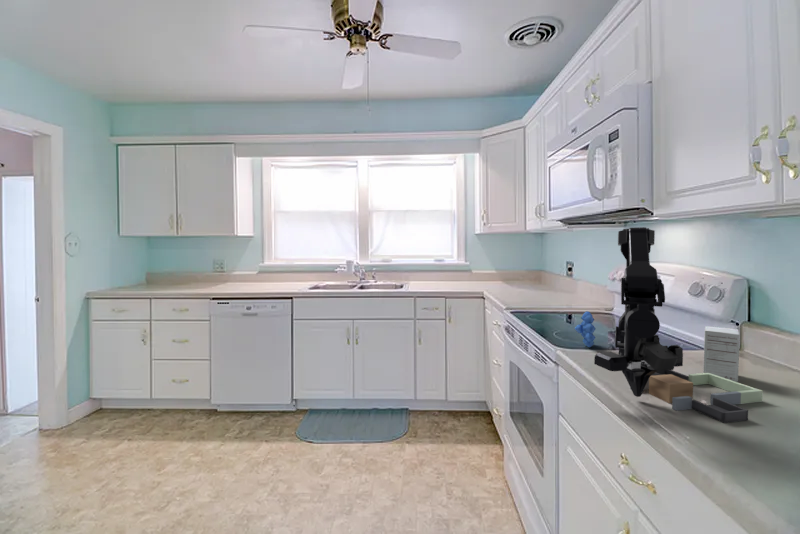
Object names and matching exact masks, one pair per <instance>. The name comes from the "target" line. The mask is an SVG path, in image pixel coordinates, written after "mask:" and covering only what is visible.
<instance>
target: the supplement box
mask: <svg viewBox="0 0 800 534" xmlns="http://www.w3.org/2000/svg"><path fill="white" fill-rule="evenodd" d="M740 335H741V334H740V329H737V328H728V327H718V326H709V325H708V326H707V325H706V326H705V327H704V338H703V339H704V341H703V370H702V371H703V372H702V373H711V374H714V375H717V376H720V377H723V378H726V379H729V380H732V381H735V382H738V383H739V367H740V366H739V364H740V363H739V362H740V341H741V340H740V339H741V338H740Z"/></svg>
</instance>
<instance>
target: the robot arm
mask: <svg viewBox="0 0 800 534" xmlns="http://www.w3.org/2000/svg"><path fill="white" fill-rule="evenodd" d="M655 231H656V230H654V229H650V228H649V227H648V228H647V227H645V226H644V227H640V226H639V227H628V228H623V229H622V230H619V231H618V234H617V246H618V247H619V246H620V250H619V251H620V252H621V254H622V255H623V256H622V257H624V259H625V262H626V263H625V265H626V266H625V267H626V268H625V269H624V277H621V278H620V279H621V281H620V301H621V302H620V304H621V305H624V312H623V313H622V315H621V316H620V318H619V319H618V323H617V324H618V326H615V330H614V331H615V332H614V333H615V335H614V347H615V349H616V348H617V349H618V353H616V352H614V351H613V352H612V351H601V352H597V353H595V355H594V361H593V362H594V365H596V366H598V367H600V368H602V369H605V370H607V371H609V372H622V374H623V375H624V377H625V379H626V381H627V384H628V385H629V387H630V388H631V389H630V388H629V389H630V390H631V392H632V394H633V396H634V397H636V398H637V397H639V398H640V397H641V396H642V394H643V392H644V388H645V386H646V383H647V381H648V379H649V378H650V376H651V375H652V374H653V373H655V372H657V371H662V370H672V371H674V369H675V368H676V367H683V366H684V365H683V363H684V362H683V361H684V353H683V347H681V346H680V345H678V344H674V345H673V344H671V345H669V346H668V345H663V344H661V342H660V337H659V335H658V334H657V333H658V332H659V330H660V327H661V323H660V321H659V318H658V317H657V315H656V312H655V307H660V308H661V307H663V303H664V304H665V301H666V295H665V292H666V291H665V284H664V283H663V280H662V279H661V278H659V276H658V272H657V271H658V270H657V269H656V268H655V267H654V266H652V265H651V263H650V253H651V247H652V246H655V238H656V237H655Z"/></svg>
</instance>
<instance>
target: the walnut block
mask: <svg viewBox="0 0 800 534" xmlns="http://www.w3.org/2000/svg"><path fill="white" fill-rule="evenodd" d="M648 395H651V396H653V397H655V398H657V399H659V400H661V401H663V402H666V403H668V404H672V399H673V397H682V396H689V397H692V400H694V399H693V397H694V396H693V395H694V385H693V383H692V382H690V381H687V380H685V379H682V378H680V377H677V376H674V375H672V374H669V375H654V376H650V378H649V389H648Z"/></svg>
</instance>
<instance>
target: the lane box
mask: <svg viewBox="0 0 800 534" xmlns="http://www.w3.org/2000/svg"><path fill="white" fill-rule="evenodd" d="M669 374H672V375H674V376H677V377H680V378H682V379H685V380H687V381H690V382H692V383H693V386H701V385H710V386H713V387H716V388H719V389H722V390H724V391H725V392H724V391H723V392H716V393H710V403H709V404H706V403H703V402H700V401H698V400H696V399H693V400H692V397H689V396H682V397H673V399H672V403H671V405H672V406H671V407H672V408H671V409H672V410H674V411H683V410H684V411H685V410H693V411H695V412H698V413H700V414H703V415H705V416H707V417H709V418H712V419H714V420H716V421H718V422H720V423H723V424H727V423H735V422H743V421H744V422H745V421H749V410H748V409H746V408H743V407H740V406H737V405H741V404H742V405H743V404H753V403H762V402H763V396H764V395H763V394H764V393H763V392H764V391H763V390H762V389H758V388H756V387H752V386H749V385H746V384H743V383H740V382H739V381H738V382H735V381H732V380H729V379H726V378H723V377H720V376H717V375H714V374H711V373H703V372H700V373H699V372H698V373H690V374H688V375H686V374H683V373H680V372H677V371H674V370H662V371H657V372H655V373H653V374H652V375H651V376H654V375H669ZM629 389H630V390H631V388H629ZM644 390H649V379H648V381H647V383H646V386H645V388H644ZM644 390H643V391H644Z"/></svg>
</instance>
